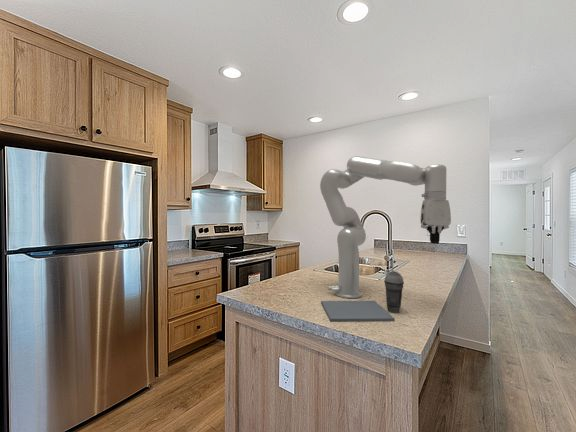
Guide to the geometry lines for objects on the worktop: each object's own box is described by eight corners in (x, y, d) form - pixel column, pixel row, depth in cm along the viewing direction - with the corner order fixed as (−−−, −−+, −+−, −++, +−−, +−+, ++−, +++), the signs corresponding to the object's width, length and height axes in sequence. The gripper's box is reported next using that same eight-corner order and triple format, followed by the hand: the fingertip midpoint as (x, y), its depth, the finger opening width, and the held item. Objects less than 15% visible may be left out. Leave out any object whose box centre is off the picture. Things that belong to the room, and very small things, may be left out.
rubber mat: (330, 321, 97) (330, 318, 97) (321, 303, 117) (321, 300, 117) (394, 321, 98) (394, 318, 98) (374, 302, 118) (374, 300, 118)
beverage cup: (393, 315, 103) (394, 262, 103) (379, 309, 110) (380, 259, 110) (407, 313, 106) (408, 261, 106) (393, 307, 113) (394, 258, 113)
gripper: (421, 196, 104) (421, 244, 105) (459, 196, 105) (459, 244, 105) (411, 197, 112) (411, 242, 112) (447, 197, 113) (447, 242, 113)
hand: (434, 243), depth 109 cm, fingers closed
